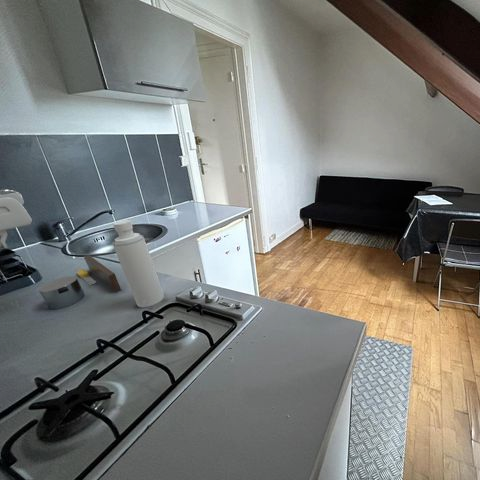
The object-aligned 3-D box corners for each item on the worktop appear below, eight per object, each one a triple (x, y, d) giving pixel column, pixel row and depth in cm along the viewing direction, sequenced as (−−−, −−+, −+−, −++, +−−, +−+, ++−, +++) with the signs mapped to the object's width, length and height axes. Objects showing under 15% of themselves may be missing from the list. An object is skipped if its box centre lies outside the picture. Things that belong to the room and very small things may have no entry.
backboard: (115, 292, 79) (108, 275, 76) (90, 271, 93) (83, 256, 91) (121, 290, 80) (114, 273, 77) (95, 269, 94) (88, 254, 92)
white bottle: (166, 300, 73) (136, 215, 63) (138, 311, 69) (102, 222, 60) (162, 290, 78) (134, 210, 68) (135, 300, 74) (102, 216, 65)
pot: (52, 314, 70) (42, 295, 68) (45, 302, 76) (35, 285, 74) (89, 299, 76) (80, 281, 74) (79, 289, 82) (71, 272, 79)
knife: (89, 285, 83) (87, 282, 83) (77, 274, 91) (76, 271, 91) (97, 282, 85) (96, 279, 85) (85, 271, 93) (83, 268, 93)
